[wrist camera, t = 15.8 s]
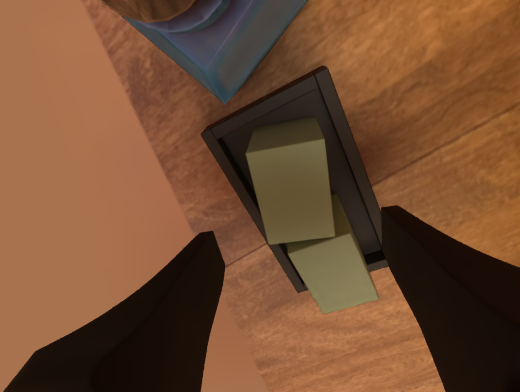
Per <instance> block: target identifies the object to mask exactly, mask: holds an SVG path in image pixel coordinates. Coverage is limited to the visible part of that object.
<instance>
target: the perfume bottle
mask: <svg viewBox="0 0 520 392" xmlns="http://www.w3.org/2000/svg"><path fill="white" fill-rule="evenodd" d="M100 1H101V2H102V3H103V4H104V5H106V6H107V7H109V8H111V9H112V10H114V11H115V12H117V13H118V14H120V15H121V16H122V17H123V18H124V19H125V20H127V21H128V22H129V23H130V24H131V25H132V26H134V27H135V28H136V29H137V30H138V31H139V32H141V33H142V34H143V35H144V36H145V37H147V38H148V39H149V40H150V41H151V42H152V43H154V44H155V45H156V46H157V47H158V48H159V49H161V50H162V51H163V52H164V53H165V54H166V55H168V56H169V57H170V58H171V59H172V60H174V61H175V62H176V63H177V64H178V65H179V66H181V67H182V68H183V69H184V70H185V71H186V72H188V73H189V74H190V75H191V76H192V77H193V78H195V79H196V80H197V81H198V82H199V83H201V84H202V85H203V86H204V87H205V88H206V89H208V90H209V91H210V92H211V93H212V94H213V95H215V96H216V97H217V98H218V99H219V100H220V101H222V102H223V103H224V104H226V103H227V102H228V101H229V100H230V99H231V98H232V97H233V96H234V94H235V93H236V92H237V91H238V90H239V89H240V88H241V87H242V86H243V85H244V84H245V82H246V81H247V80H248V78H249V77H250V76H251V74H252V73H253V72H254V71H255V69H256V68H257V67H258V65H259V64H260V63H261V61H262V60H263V59H264V57H265V56H266V55H267V53H268V52H269V51H270V49H271V48H272V47H273V46H274V44H275V43H276V42H277V40H278V39H279V38H280V36H281V35H282V34H283V32H284V31H285V30H286V28H287V27H288V26H289V25H290V23H291V22H292V21H293V19H294V18H295V17H296V15H297V14H298V13H299V11H300V10H301V9H302V7H303V6H304V5H305V3H306V2H307V1H308V0H100Z"/></svg>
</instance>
